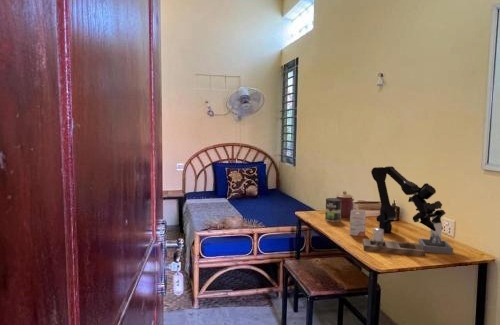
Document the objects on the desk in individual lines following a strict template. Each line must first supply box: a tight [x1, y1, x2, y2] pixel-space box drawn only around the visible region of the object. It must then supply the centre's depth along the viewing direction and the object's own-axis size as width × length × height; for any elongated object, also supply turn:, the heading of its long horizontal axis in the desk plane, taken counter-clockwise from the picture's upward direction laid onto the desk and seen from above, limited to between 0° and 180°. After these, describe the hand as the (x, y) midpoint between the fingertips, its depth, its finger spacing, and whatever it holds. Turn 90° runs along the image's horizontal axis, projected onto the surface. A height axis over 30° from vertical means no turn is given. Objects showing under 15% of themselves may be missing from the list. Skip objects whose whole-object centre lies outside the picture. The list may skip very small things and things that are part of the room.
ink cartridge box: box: [349, 209, 367, 237], centre depth 204 cm, size 9×5×15 cm, turn 70°
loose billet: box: [429, 221, 443, 244], centre depth 181 cm, size 5×5×10 cm
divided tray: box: [362, 238, 426, 257], centre depth 179 cm, size 28×12×2 cm, turn 75°
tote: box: [418, 238, 454, 255], centre depth 181 cm, size 13×13×3 cm
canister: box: [335, 190, 355, 218], centre depth 251 cm, size 13×13×18 cm
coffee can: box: [324, 197, 342, 223], centre depth 237 cm, size 10×10×14 cm
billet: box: [372, 227, 385, 246], centre depth 181 cm, size 5×5×10 cm
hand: (438, 230), depth 179 cm, fingers closed on loose billet, 5 cm apart
